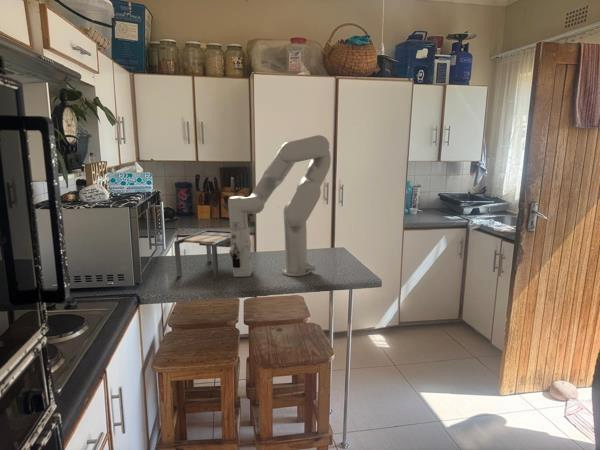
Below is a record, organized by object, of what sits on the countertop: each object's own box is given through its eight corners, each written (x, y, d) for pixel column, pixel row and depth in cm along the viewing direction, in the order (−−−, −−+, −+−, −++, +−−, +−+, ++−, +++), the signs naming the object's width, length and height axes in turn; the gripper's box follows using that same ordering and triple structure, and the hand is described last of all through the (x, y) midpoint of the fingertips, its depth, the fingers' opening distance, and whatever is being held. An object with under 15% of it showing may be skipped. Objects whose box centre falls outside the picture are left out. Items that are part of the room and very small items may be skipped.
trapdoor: (236, 244, 182) (235, 233, 181) (216, 253, 166) (215, 241, 165) (206, 242, 188) (205, 231, 187) (184, 251, 172) (183, 239, 171)
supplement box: (250, 276, 167) (248, 247, 165) (233, 277, 168) (230, 248, 165) (253, 271, 175) (250, 243, 172) (236, 271, 175) (234, 244, 173)
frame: (245, 264, 187) (243, 231, 184) (216, 280, 164) (214, 244, 161) (209, 260, 194) (206, 229, 191) (177, 276, 171) (173, 241, 168)
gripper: (236, 229, 158) (239, 270, 161) (256, 221, 174) (258, 259, 177) (220, 229, 160) (224, 269, 164) (241, 221, 176) (243, 258, 180)
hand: (242, 264), depth 170 cm, fingers closed on supplement box, 8 cm apart
